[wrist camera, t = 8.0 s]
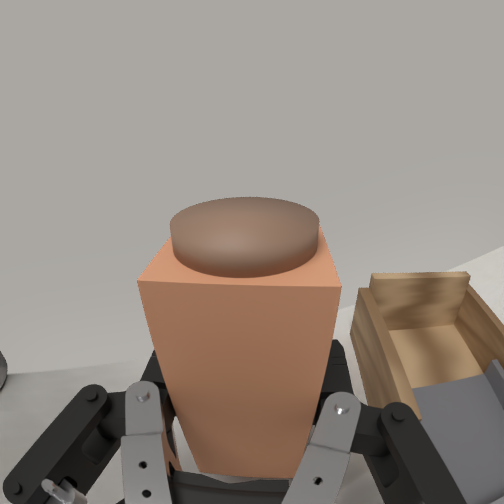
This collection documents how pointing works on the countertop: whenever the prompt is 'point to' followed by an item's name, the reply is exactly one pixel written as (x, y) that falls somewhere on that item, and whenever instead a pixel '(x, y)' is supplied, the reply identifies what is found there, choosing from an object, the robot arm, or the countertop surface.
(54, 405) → the countertop surface
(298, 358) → the tin
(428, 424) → the tray
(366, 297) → the dock
